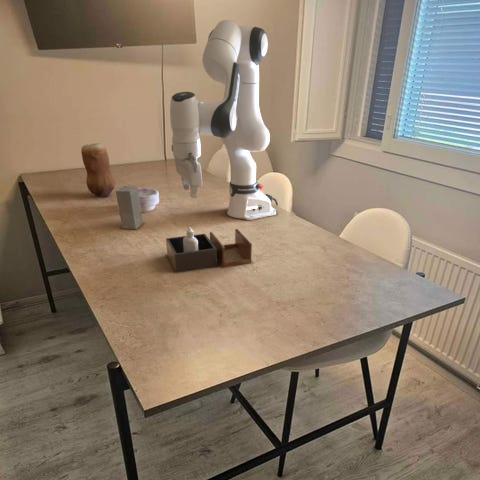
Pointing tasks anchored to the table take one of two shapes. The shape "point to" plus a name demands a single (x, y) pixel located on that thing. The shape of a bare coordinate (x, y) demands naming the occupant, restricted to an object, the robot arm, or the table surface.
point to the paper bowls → (148, 199)
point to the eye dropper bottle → (190, 241)
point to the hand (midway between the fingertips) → (189, 193)
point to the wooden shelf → (240, 244)
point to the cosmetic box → (129, 207)
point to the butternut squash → (97, 170)
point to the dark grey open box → (191, 254)
